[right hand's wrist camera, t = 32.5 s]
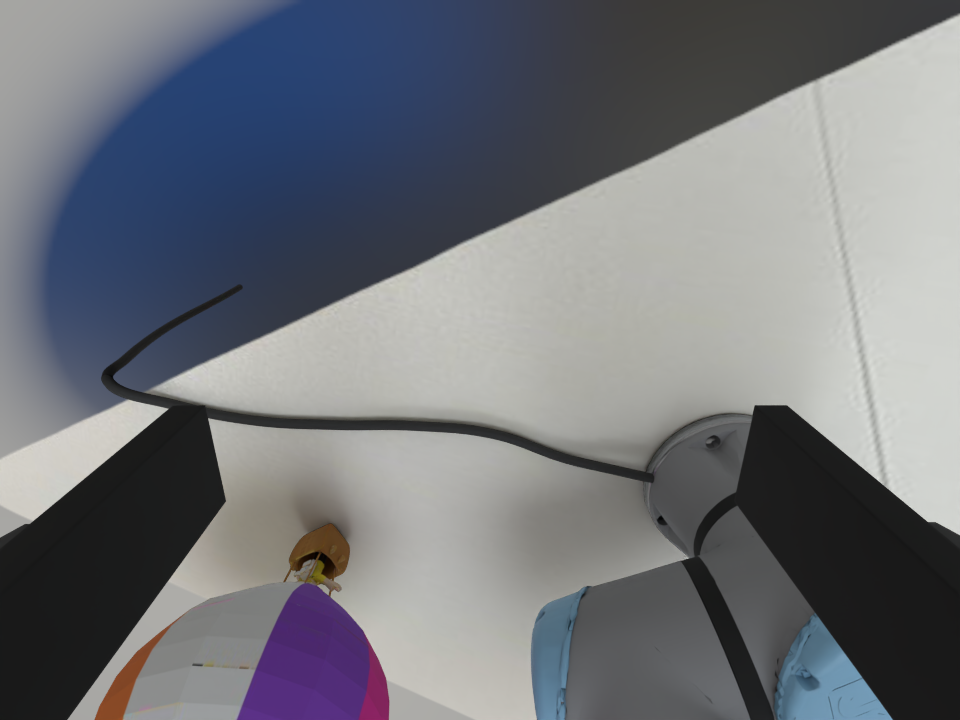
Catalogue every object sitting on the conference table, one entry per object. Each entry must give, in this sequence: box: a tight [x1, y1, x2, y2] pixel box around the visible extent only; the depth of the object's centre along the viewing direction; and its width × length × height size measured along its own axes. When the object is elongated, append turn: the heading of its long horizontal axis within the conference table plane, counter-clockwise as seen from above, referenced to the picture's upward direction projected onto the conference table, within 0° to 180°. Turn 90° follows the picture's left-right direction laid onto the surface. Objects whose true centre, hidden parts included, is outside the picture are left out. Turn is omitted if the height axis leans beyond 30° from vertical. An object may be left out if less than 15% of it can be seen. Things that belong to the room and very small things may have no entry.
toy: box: [95, 524, 389, 720], centre depth 41 cm, size 20×20×30 cm
